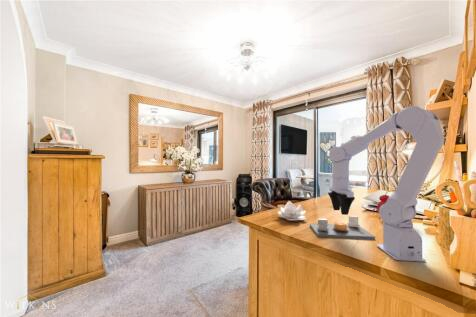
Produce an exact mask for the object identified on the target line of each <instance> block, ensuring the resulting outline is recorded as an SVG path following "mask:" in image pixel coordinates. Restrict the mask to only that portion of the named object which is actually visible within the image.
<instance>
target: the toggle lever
mask: <svg viewBox="0 0 476 317" xmlns="http://www.w3.org/2000/svg"><path fill="white" fill-rule="evenodd" d="M347 225H349V226H350V227H361V226H360V225H361V224H359V216H358V215H348V222H347Z"/></svg>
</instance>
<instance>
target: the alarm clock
mask: <svg viewBox="0 0 476 317" xmlns="http://www.w3.org/2000/svg"><path fill="white" fill-rule="evenodd" d="M389 192H390V190H388V191H386V193H385V194H383V195H380V196H379V201H380V202H378V204H377V207H376V209H377V212H378V213H379V208H380V207H381V206H382V205H383V204H385V203H386V202H387V200H388V198H389V197H390V196H391V195H390V196H389V195H388V194H387V193H389ZM380 219H382V218H381V217H380V216H379V218H378V220H380Z"/></svg>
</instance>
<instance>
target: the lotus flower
mask: <svg viewBox="0 0 476 317" xmlns="http://www.w3.org/2000/svg"><path fill="white" fill-rule="evenodd" d="M277 211H278V212H277V214H278V217H280V218H284V219H286V220H287V221H304V220H307V218H306V215H305V214H306V212H307V210H303V205H301V203H299V204H298V205H297V206H296V205H295V204H294V203H293V202H292V201H290V200H288V201H287V202H286V204H285V206H284V207H282V206H280V210H279V209H277Z"/></svg>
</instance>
